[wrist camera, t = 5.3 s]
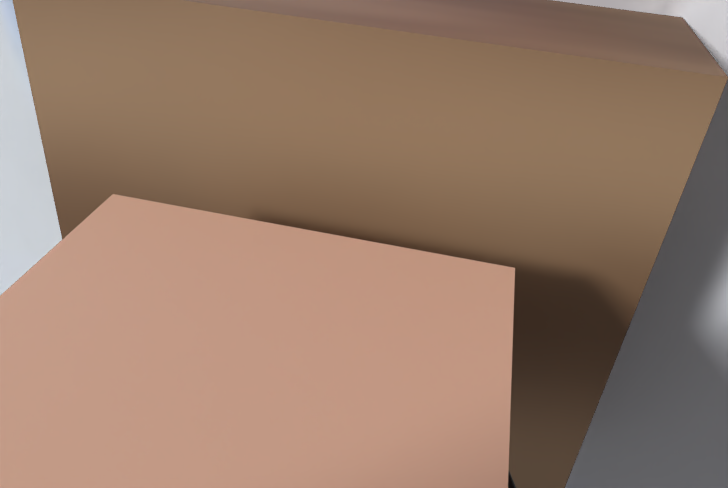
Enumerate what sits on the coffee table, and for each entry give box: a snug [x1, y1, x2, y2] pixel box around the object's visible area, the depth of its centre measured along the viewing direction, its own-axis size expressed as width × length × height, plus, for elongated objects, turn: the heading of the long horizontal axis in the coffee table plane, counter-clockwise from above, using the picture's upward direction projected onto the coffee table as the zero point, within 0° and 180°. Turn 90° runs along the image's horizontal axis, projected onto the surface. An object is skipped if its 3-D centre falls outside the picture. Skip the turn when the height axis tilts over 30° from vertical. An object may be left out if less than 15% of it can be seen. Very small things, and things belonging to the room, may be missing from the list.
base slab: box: [13, 0, 728, 488], centre depth 13 cm, size 10×10×3 cm
